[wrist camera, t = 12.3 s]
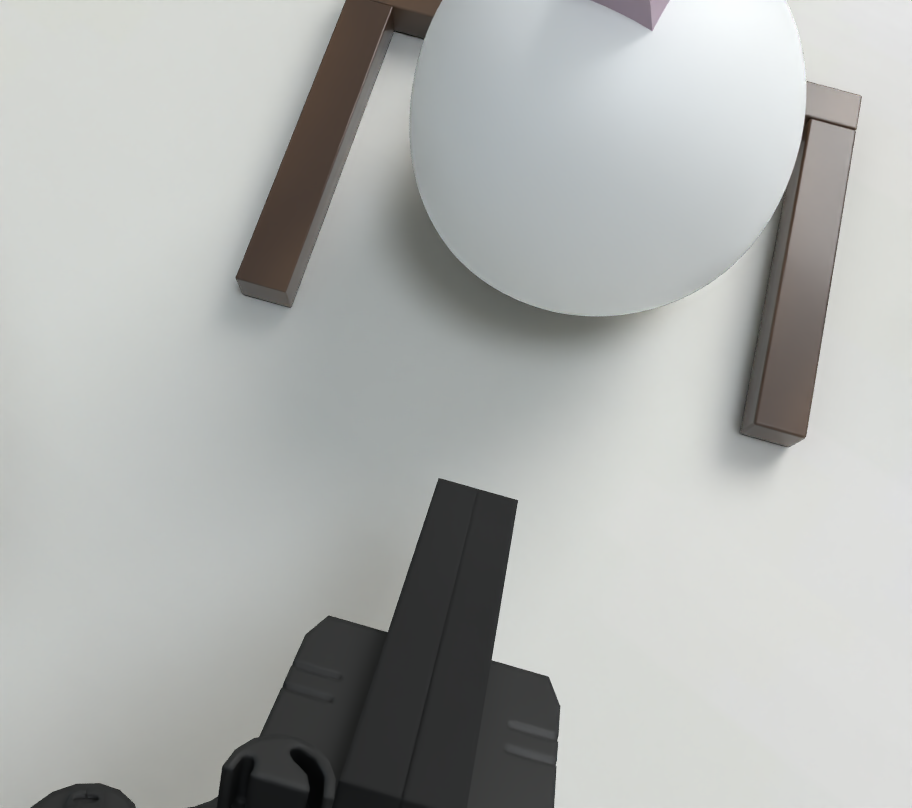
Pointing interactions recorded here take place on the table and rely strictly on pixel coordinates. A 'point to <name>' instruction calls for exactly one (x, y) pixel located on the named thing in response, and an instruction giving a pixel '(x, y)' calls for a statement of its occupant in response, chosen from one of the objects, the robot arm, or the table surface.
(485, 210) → the ornament
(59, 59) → the table surface
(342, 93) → the bay
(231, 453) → the table surface
